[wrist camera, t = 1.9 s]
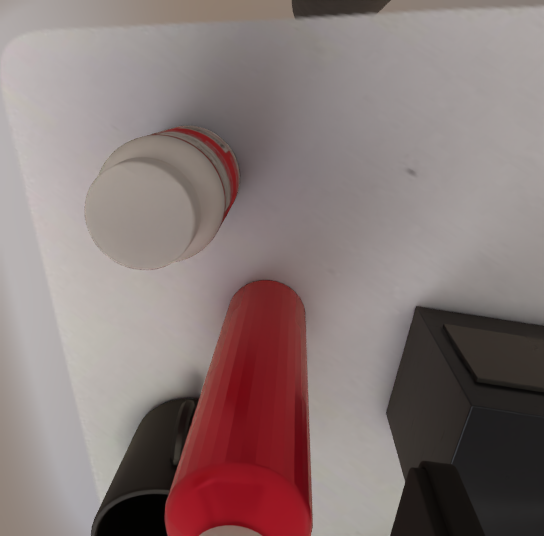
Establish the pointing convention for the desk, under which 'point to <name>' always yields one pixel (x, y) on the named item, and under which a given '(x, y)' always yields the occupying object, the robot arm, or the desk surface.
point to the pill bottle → (162, 197)
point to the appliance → (476, 412)
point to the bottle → (249, 426)
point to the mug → (146, 474)
